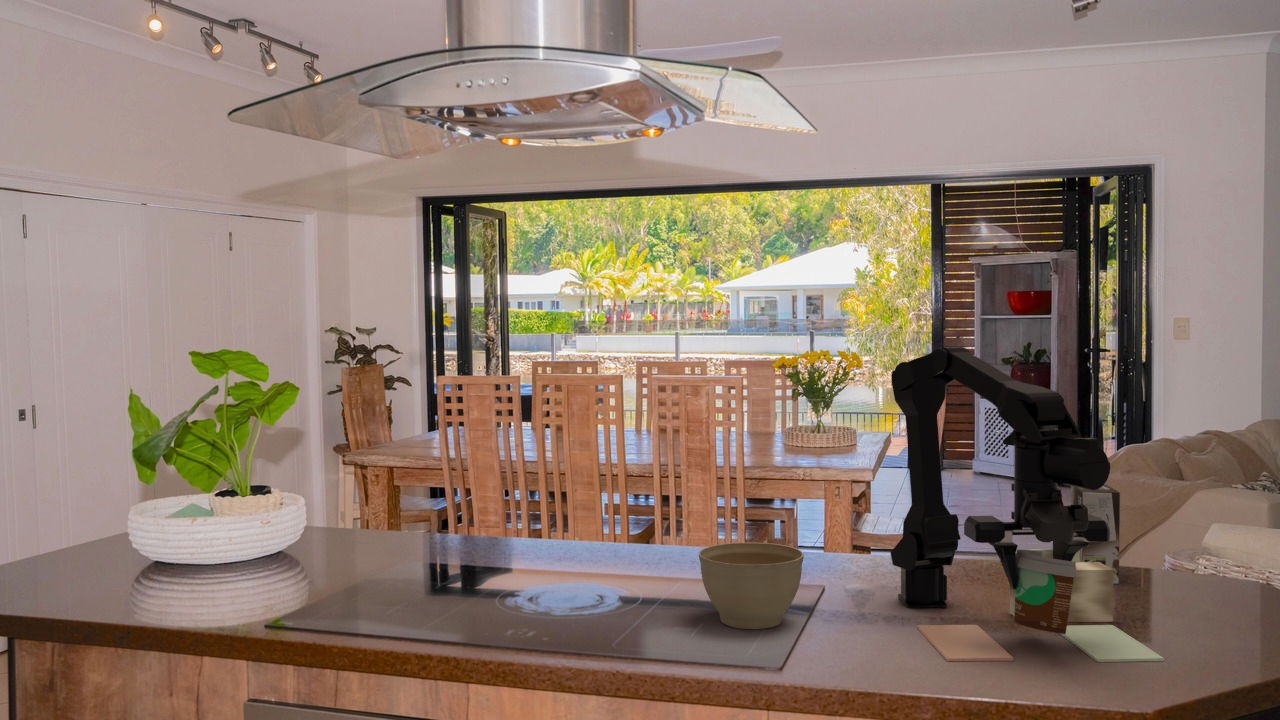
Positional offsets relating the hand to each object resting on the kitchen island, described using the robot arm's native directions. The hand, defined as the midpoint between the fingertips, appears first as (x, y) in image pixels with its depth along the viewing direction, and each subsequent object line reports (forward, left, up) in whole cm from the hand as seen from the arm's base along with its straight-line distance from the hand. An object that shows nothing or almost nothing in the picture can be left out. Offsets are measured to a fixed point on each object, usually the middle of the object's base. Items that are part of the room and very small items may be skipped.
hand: (1035, 588), depth 144 cm
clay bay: (-10, +1, -8) cm, 13 cm away
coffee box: (+25, +37, -8) cm, 45 cm away
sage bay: (+10, 0, -8) cm, 13 cm away
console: (+9, +13, -8) cm, 18 cm away
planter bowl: (-39, +13, -8) cm, 42 cm away
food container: (-1, -1, -5) cm, 5 cm away
